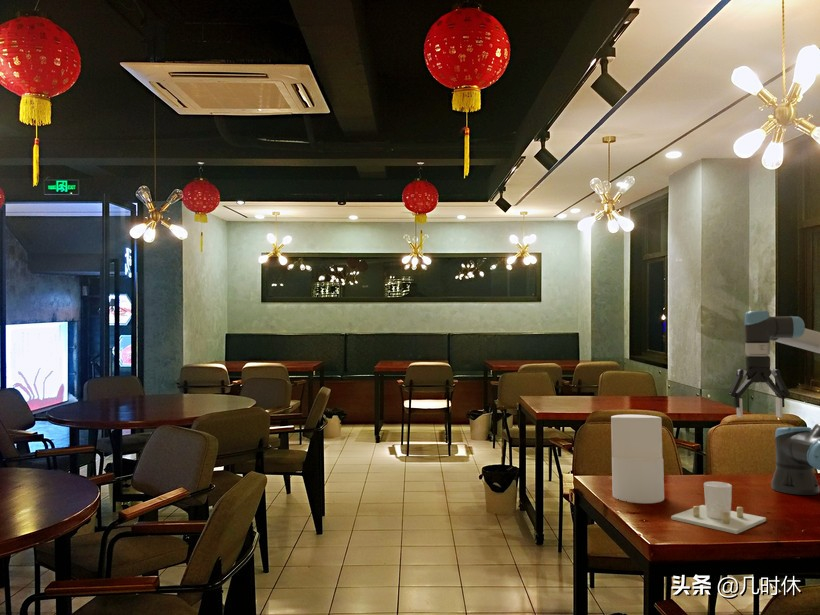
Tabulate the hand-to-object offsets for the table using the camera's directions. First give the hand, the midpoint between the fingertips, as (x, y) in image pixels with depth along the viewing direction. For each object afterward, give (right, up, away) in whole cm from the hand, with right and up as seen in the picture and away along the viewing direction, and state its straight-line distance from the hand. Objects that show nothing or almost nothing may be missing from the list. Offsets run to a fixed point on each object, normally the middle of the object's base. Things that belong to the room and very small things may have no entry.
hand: (759, 417), depth 226 cm
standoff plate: (-25, -28, -23) cm, 44 cm away
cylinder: (-40, -30, +6) cm, 50 cm away
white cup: (-25, -27, -23) cm, 43 cm away
